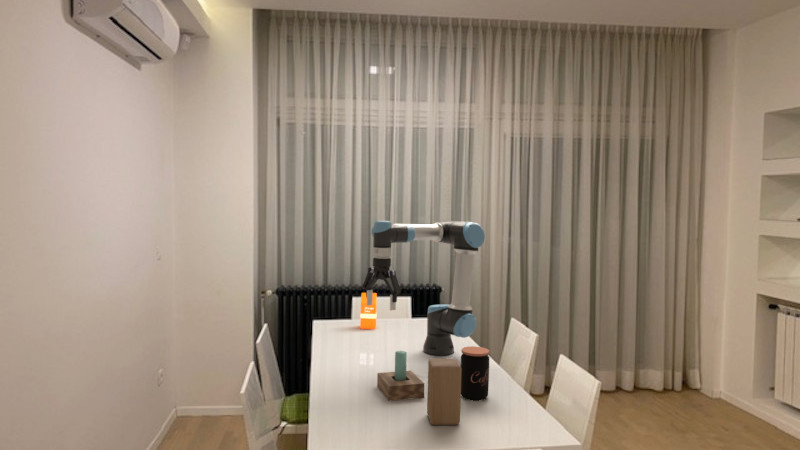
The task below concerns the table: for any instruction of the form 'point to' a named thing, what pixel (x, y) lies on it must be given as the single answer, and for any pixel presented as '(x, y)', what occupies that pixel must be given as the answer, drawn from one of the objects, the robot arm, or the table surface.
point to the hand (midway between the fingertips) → (380, 307)
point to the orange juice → (368, 312)
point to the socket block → (400, 386)
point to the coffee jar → (474, 373)
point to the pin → (400, 365)
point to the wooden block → (444, 391)
